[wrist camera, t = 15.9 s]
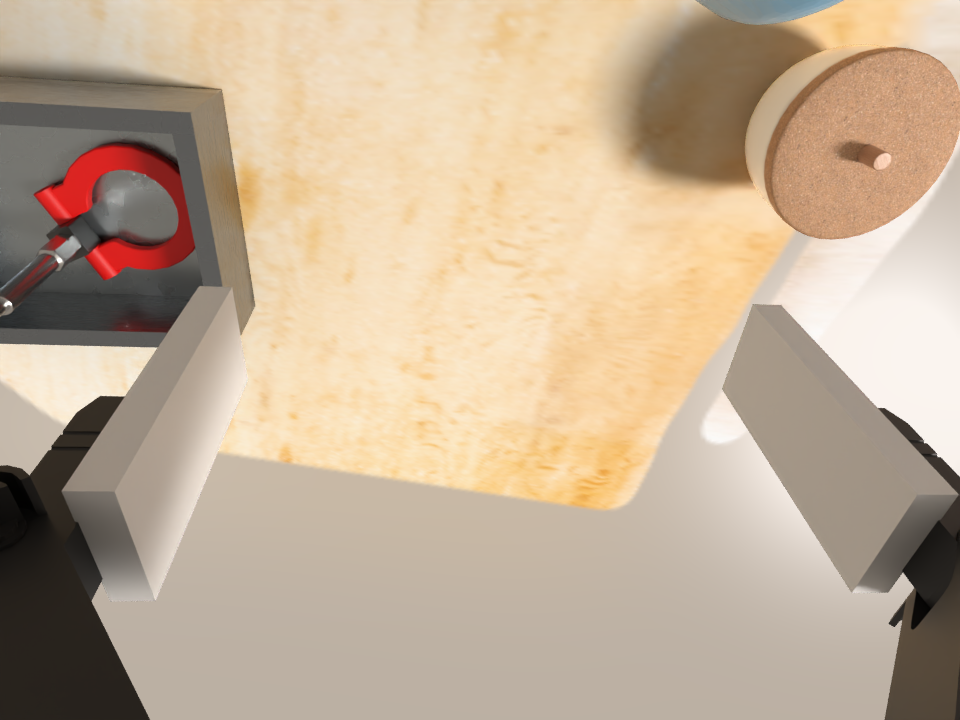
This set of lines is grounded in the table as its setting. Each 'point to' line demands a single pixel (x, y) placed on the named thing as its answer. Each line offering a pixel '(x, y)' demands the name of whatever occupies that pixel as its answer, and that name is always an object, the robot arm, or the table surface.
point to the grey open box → (117, 208)
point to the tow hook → (81, 240)
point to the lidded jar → (852, 137)
